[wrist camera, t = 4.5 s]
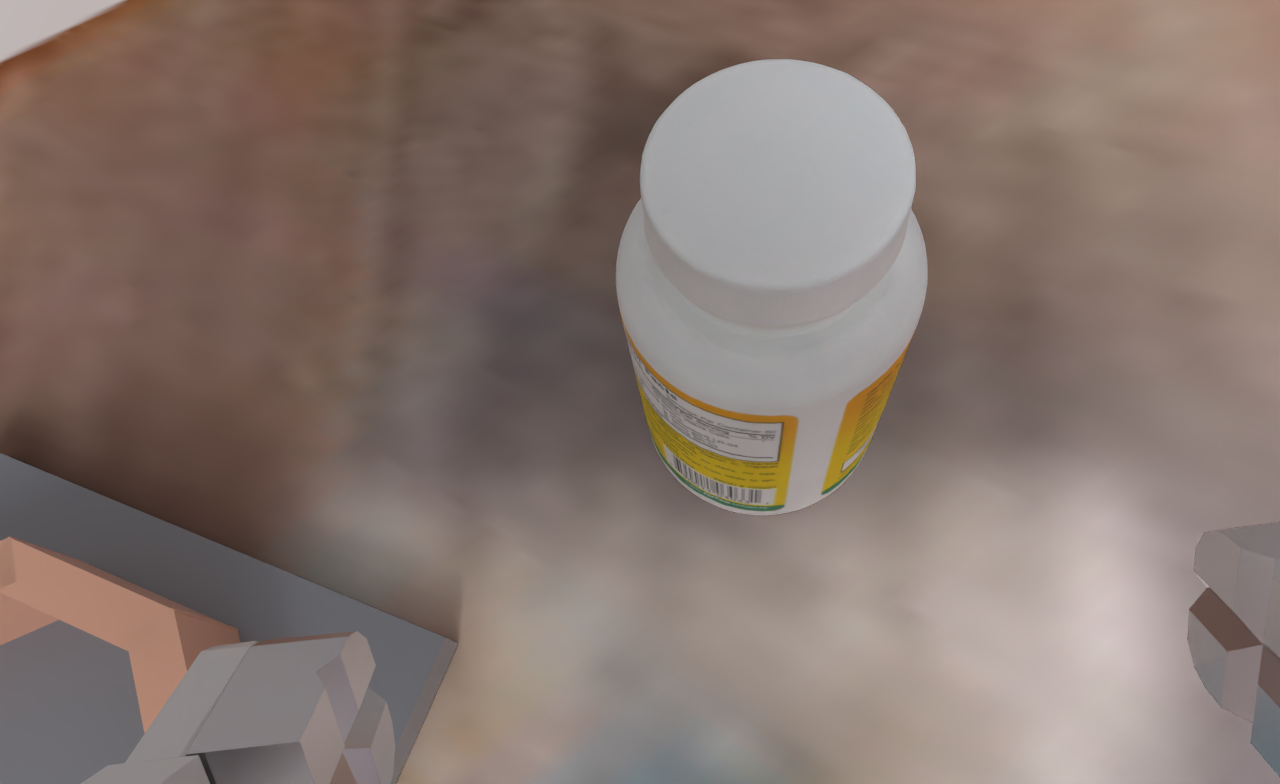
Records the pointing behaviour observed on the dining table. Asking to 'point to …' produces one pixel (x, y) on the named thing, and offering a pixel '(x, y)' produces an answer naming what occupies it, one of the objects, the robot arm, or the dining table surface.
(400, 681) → the collar holder
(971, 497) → the dining table surface
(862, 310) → the supplement bottle
